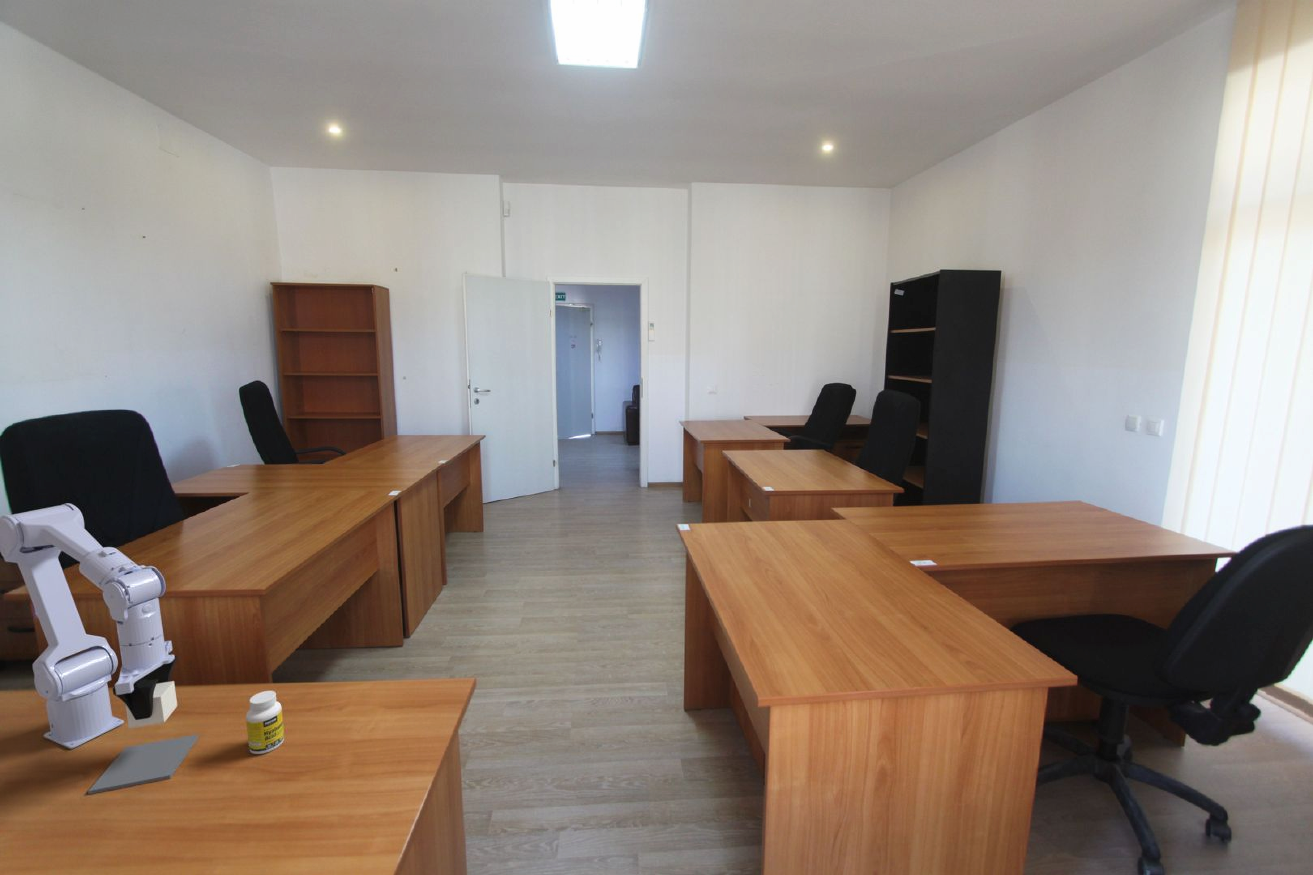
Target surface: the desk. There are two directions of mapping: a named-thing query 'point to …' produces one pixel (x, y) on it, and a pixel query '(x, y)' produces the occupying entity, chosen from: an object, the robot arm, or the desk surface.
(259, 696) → the supplement bottle
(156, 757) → the mat
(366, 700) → the desk surface
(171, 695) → the cube
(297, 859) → the desk surface
